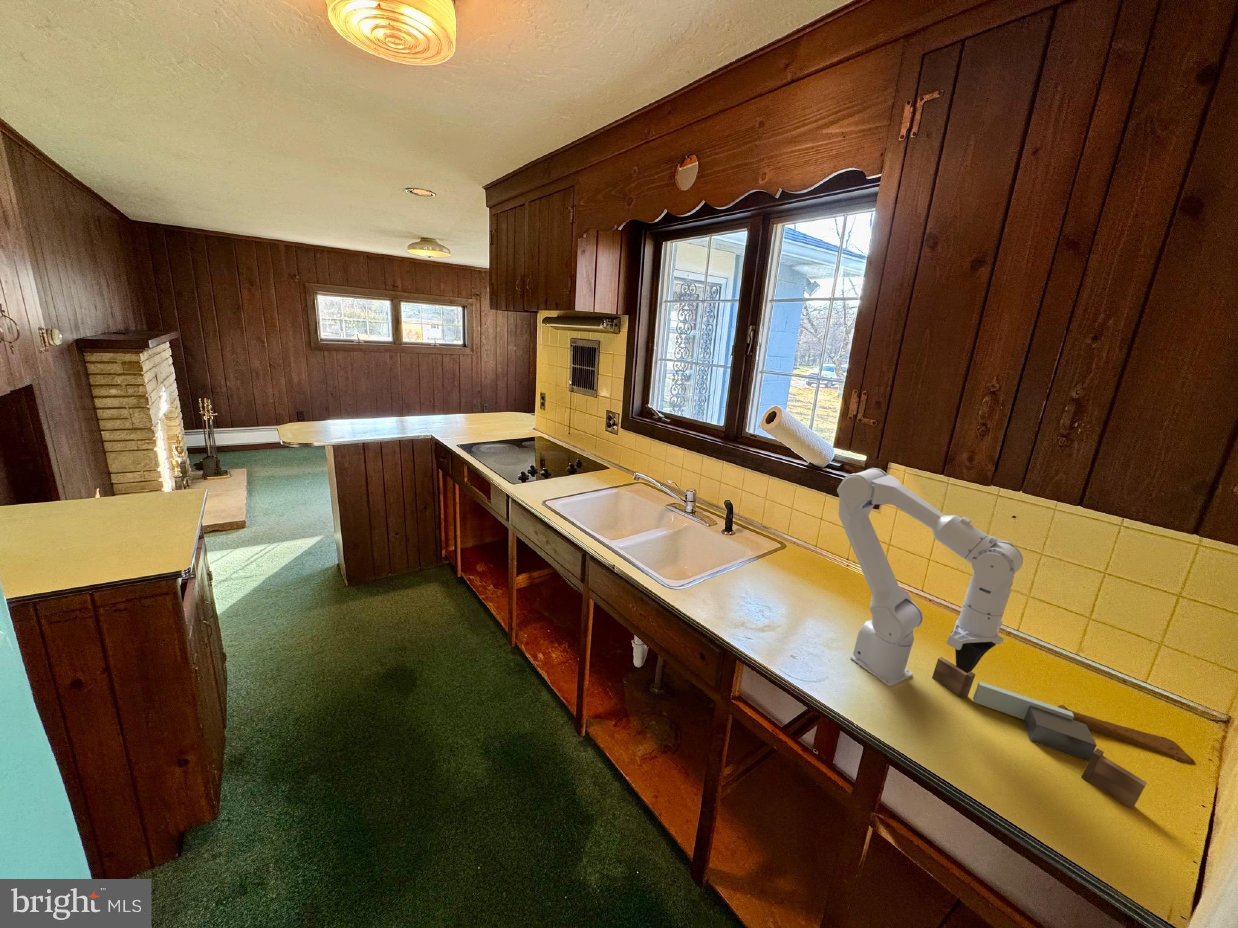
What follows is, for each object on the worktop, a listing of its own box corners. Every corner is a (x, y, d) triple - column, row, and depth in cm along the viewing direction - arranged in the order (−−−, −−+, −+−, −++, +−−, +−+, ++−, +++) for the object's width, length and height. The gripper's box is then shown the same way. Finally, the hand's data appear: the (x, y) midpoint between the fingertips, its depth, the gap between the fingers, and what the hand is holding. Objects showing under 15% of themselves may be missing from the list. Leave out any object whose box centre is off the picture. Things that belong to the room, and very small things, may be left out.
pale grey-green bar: (973, 701, 91) (980, 684, 90) (972, 695, 93) (978, 678, 92) (1066, 734, 85) (1074, 716, 84) (1062, 726, 87) (1070, 708, 85)
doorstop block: (1029, 741, 84) (1037, 724, 83) (1022, 721, 88) (1029, 705, 87) (1088, 762, 80) (1096, 745, 79) (1078, 741, 84) (1086, 724, 83)
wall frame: (931, 677, 98) (938, 656, 96) (935, 675, 98) (942, 654, 97) (1130, 809, 72) (1144, 784, 71) (1135, 805, 73) (1149, 779, 71)
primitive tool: (1172, 742, 86) (1180, 727, 85) (1198, 768, 81) (1206, 753, 80) (1048, 713, 91) (1054, 699, 90) (1065, 735, 86) (1071, 721, 85)
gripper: (987, 629, 77) (966, 695, 80) (1029, 609, 83) (1007, 671, 87) (942, 606, 82) (924, 669, 86) (985, 589, 89) (966, 648, 93)
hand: (963, 668), depth 87 cm, fingers closed
